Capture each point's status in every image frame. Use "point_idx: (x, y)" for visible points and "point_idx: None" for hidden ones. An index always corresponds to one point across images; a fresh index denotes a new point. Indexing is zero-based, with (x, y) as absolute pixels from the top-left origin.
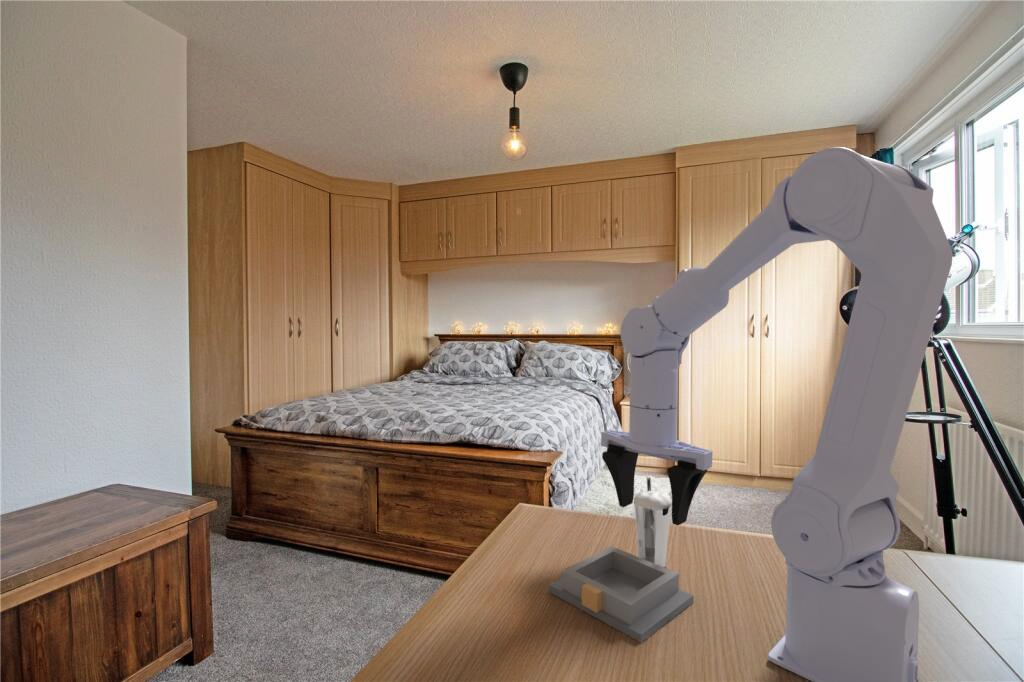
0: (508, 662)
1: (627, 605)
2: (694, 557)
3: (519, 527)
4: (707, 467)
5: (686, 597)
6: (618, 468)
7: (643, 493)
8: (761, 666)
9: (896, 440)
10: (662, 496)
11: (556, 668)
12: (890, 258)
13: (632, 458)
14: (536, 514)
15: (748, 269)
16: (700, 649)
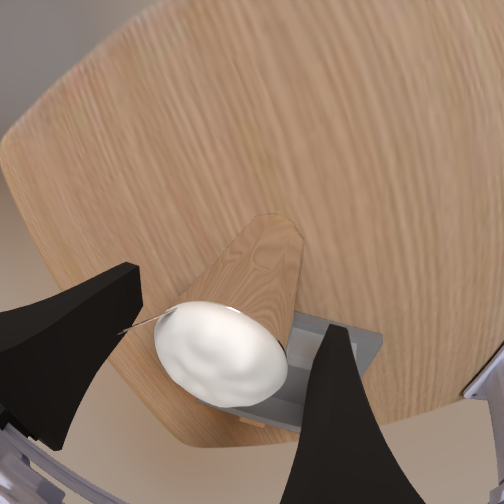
0: (240, 440)
1: None
2: (352, 149)
3: (38, 230)
4: None
5: (371, 352)
6: (73, 413)
7: (184, 385)
8: (453, 397)
9: None
10: (249, 396)
11: (275, 441)
12: None
13: (27, 377)
14: (17, 169)
15: None
16: (394, 402)
